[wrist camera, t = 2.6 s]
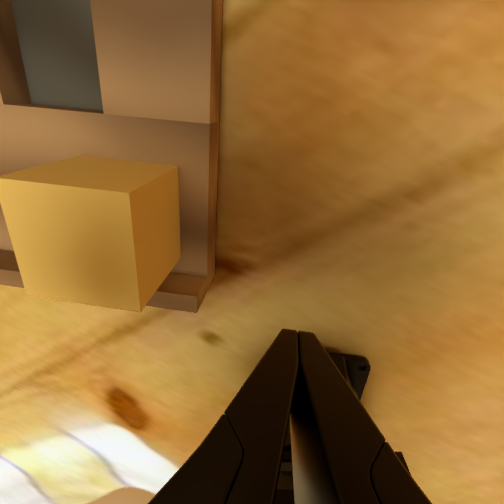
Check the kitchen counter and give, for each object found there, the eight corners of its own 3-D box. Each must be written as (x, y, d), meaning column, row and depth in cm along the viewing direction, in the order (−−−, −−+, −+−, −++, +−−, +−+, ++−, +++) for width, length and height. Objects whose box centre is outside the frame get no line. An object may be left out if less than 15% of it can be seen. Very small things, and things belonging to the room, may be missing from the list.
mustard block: (180, 257, 17) (140, 312, 13) (94, 246, 18) (26, 295, 13) (178, 165, 15) (128, 193, 11) (79, 155, 16) (-7, 177, 11)
